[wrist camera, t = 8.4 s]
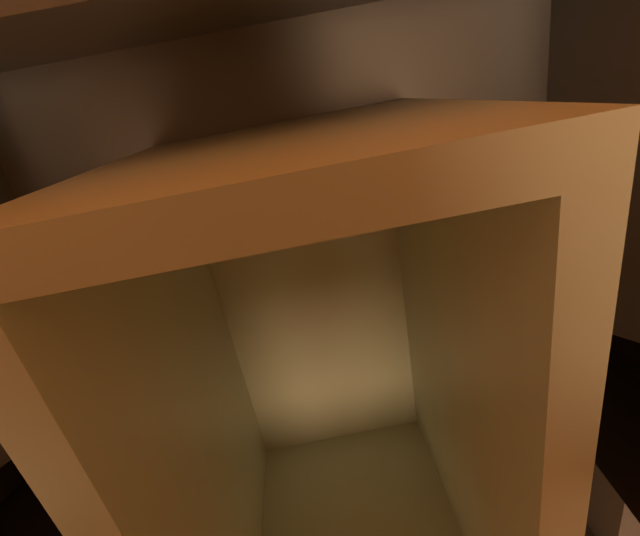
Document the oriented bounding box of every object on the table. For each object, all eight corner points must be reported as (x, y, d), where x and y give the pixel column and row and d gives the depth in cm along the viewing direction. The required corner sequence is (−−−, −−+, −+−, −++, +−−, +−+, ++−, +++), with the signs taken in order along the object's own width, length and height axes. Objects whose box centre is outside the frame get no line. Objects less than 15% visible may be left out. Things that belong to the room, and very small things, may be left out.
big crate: (572, -80, 9) (854, -253, 5) (539, 436, 16) (644, 578, 11) (-75, 42, 9) (-433, -10, 5) (157, 508, 16) (103, 680, 11)
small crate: (402, 98, 10) (642, 103, 3) (430, 418, 14) (561, 710, 7) (152, 146, 10) (-128, 253, 3) (254, 452, 14) (224, 775, 7)
